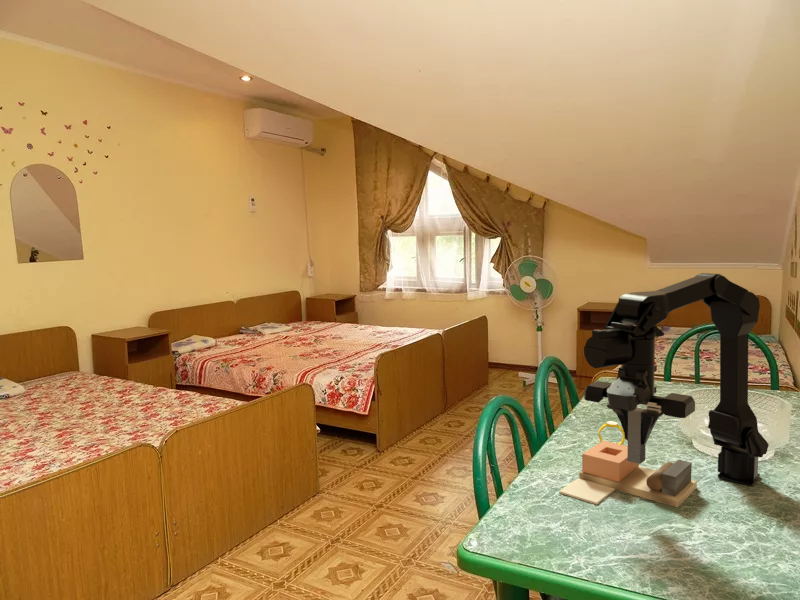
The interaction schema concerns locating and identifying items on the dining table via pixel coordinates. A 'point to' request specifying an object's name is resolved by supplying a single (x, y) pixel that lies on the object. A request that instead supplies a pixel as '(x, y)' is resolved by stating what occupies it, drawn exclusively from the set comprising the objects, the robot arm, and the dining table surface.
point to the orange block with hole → (608, 461)
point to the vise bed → (640, 486)
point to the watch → (612, 424)
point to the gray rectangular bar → (635, 436)
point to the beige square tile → (587, 491)
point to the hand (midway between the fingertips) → (636, 442)
